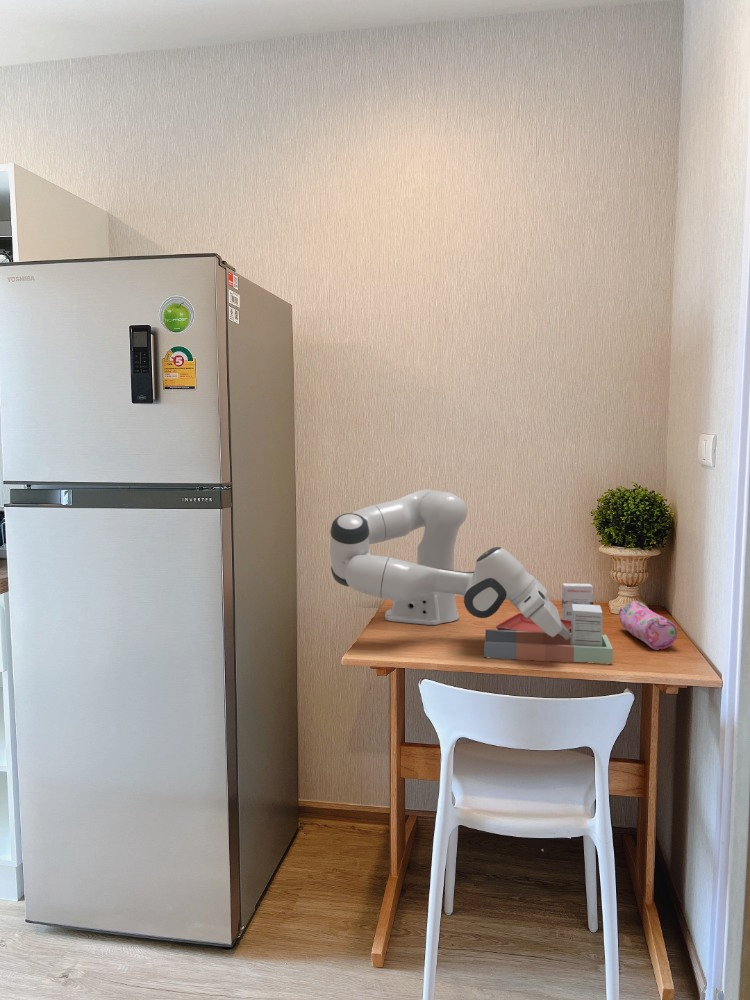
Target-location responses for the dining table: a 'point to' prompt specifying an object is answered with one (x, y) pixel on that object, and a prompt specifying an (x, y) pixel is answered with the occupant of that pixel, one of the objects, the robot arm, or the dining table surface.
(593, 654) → the channel
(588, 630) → the supplement box
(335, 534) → the robot arm
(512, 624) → the plant saucer
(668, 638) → the pencil case
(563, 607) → the ink box
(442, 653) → the dining table surface
